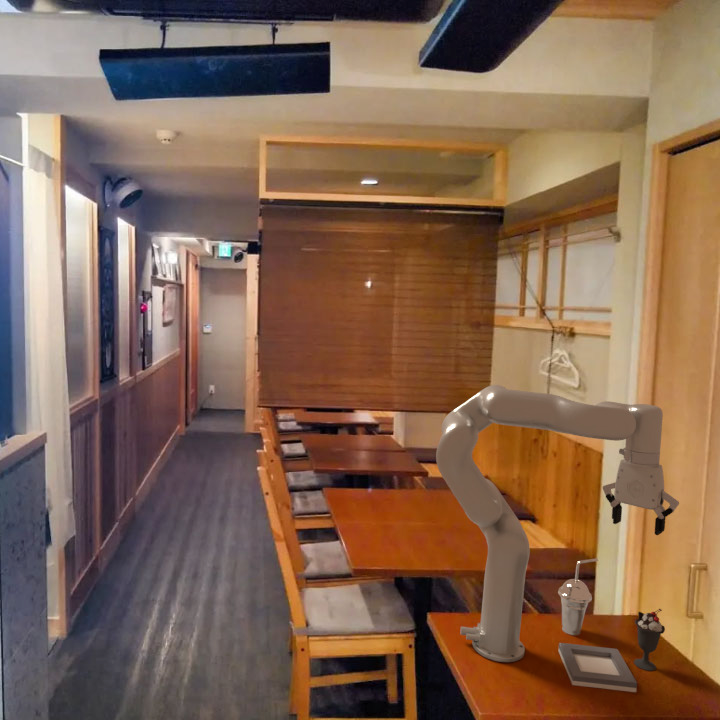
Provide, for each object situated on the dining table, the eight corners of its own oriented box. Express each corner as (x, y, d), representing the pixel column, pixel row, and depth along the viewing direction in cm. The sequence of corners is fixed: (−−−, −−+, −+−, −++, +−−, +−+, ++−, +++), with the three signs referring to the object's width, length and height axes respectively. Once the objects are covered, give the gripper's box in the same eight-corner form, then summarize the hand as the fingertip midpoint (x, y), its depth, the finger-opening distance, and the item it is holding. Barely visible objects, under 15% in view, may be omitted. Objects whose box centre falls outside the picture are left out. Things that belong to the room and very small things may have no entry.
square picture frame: (572, 684, 143) (573, 675, 142) (558, 651, 157) (559, 642, 156) (636, 692, 142) (637, 683, 141) (616, 657, 155) (617, 649, 155)
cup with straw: (555, 619, 173) (562, 548, 171) (590, 627, 169) (598, 555, 167) (553, 634, 165) (560, 560, 163) (589, 643, 161) (598, 567, 159)
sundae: (663, 675, 149) (671, 614, 148) (633, 670, 150) (640, 609, 149) (656, 660, 155) (663, 601, 154) (627, 655, 157) (634, 597, 155)
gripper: (599, 452, 152) (594, 522, 154) (675, 467, 140) (670, 542, 141) (612, 448, 157) (608, 515, 159) (686, 461, 145) (681, 534, 147)
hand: (637, 528), depth 150 cm, fingers open, 9 cm apart
